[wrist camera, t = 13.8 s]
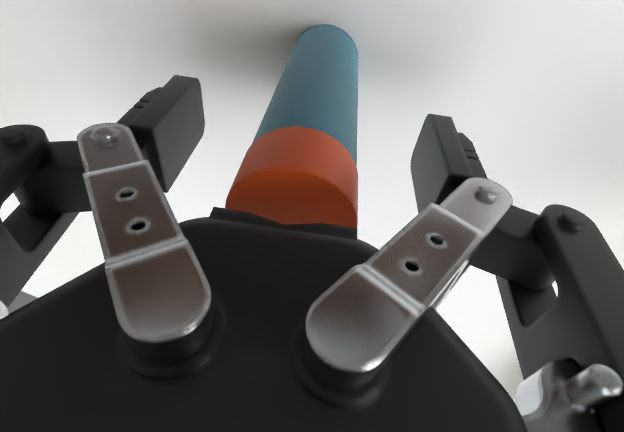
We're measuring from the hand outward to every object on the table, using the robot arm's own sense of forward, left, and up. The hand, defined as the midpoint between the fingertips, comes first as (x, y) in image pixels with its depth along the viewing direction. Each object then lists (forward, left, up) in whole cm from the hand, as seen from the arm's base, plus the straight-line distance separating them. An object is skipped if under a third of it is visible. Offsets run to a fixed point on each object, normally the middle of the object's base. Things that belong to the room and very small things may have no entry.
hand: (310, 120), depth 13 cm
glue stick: (0, 0, -7) cm, 7 cm away
